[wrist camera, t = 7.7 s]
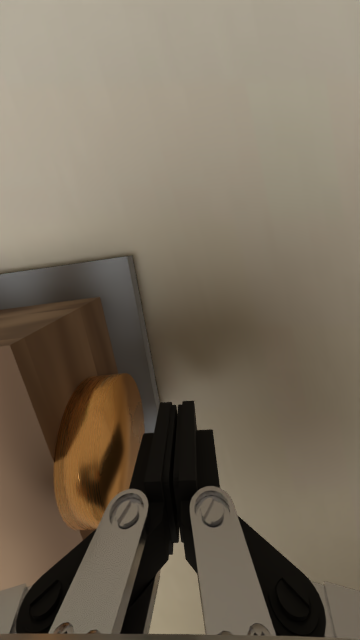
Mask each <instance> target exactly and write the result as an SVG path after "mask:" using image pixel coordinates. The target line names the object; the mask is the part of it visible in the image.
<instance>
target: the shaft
mask: <svg viewBox="0 0 360 640" xmlns="http://www.w3.org/2000/svg"><path fill="white" fill-rule="evenodd" d="M144 433H145V428H144V415H143V407H142V402H141V397H140V393H139V390H138V387H137V384H136V382H135V380H134V379H133V377H132V376H131V375H129V374H127V373H122V374H112V375H102V376H93V377H89V378H87V379H85V380H84V381H82V382H81V383H80V384H79V386H78V387H77V388H76V389H75V391H74V392H73V394H72V396H71V398H70V399H69V401H68V404H67V406H66V408H65V411H64V414H63V417H62V419H61V423H60V427H59V431H58V436H57V441H56V447H55V455H54V490H55V497H56V502H57V506H58V509H59V513H60V515H61V517H62V519H63V521H64V522H65V523H66V525H67V526H68V527H70V528H71V529H74V530H91V529H97V527H98V525H99V523H100V521H101V519H102V516H103V514H104V512H105V510H106V508H107V506H108V504H109V503H110V501H111V500H112V499H113V498H114V497H115V496H116V495H117V494H119V493H120V492H122V491H124V490H127V489H129V486H130V482H131V479H132V475H133V471H134V467H135V463H136V459H137V455H138V452H139V448H140V444H141V440H142V436H143V434H144Z"/></svg>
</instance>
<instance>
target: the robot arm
mask: <svg viewBox="0 0 360 640" xmlns="http://www.w3.org/2000/svg"><path fill="white" fill-rule="evenodd" d="M179 528H180V535H181V542H184V549H185V556H186V560H187V561H188V563H189V564H190V565H191V566H192V568H193V569H194V570H195V572H196V573H197V575H198V583H199V590H200V597H201V604H202V612H203V619H204V626H205V634H206V635H191V634H148V633H149V628H150V623H151V618H152V613H153V609H154V604H155V599H156V594H157V589H158V584H159V579H160V570H161V568H162V567H163V565H164V564H165V563H166V562H167V561H168V558H169V555H173V543H178V541H179ZM0 640H360V591H358V590H354V589H351V588H347V587H344V586H340V585H337V584H333V583H329V582H326V581H324V585H322V584H318V583H315V582H311V581H310V580H309V579H308V578H307V577H306V576H305V575H304V574H303V573H302V572H301V571H300V570H299V569H298V568H296V567H295V566H294V565H293V564H292V563H291V562H290V561H289V560H287V559H286V558H285V557H284V556H283V555H282V554H281V553H279V552H278V551H277V550H276V549H275V548H274V547H273V546H272V545H270V544H269V543H268V542H267V541H266V540H265V539H264V538H262V537H261V536H260V535H259V534H258V533H257V532H256V531H255V530H253V529H252V528H251V527H250V526H249V525H248V524H247V523H246V522H244V521H243V520H242V519H241V518H240V517H239V516H238V515H237V512H236V509H235V506H234V503H233V501H232V499H231V497H230V496H229V495H228V494H227V493H226V491H224V490H222V489H221V488H220V485H219V477H218V469H217V461H216V453H215V445H214V437H213V430H197V426H196V416H195V405H194V401H183V403H182V405H178V416H177V408H176V405H172V402H164V403H160V405H159V410H158V415H157V420H156V425H155V430H154V433H144V434H143V436H142V440H141V444H140V448H139V452H138V455H137V459H136V463H135V467H134V471H133V475H132V479H131V482H130V486H129V489H127V490H124V491H122V492H120V493H119V494H117V495H116V496H115V497H114V498H113V499H112V500H111V501H110V503H109V504H108V506H107V508H106V510H105V512H104V514H103V516H102V519H101V521H100V523H99V525H98V527H97V529H96V530H94V531H93V532H92V533H91V534H90V535H89V536H87V537H86V538H85V539H84V540H83V541H82V542H80V543H79V544H78V545H77V546H76V547H75V548H74V549H72V550H71V551H70V552H69V553H68V554H67V555H65V556H64V557H63V558H62V559H61V560H60V561H58V562H57V563H56V564H55V565H54V566H53V567H51V568H50V569H49V570H48V571H47V572H46V573H45V574H43V575H42V576H41V577H40V578H39V579H38V580H37V581H36V582H35V583H34V584H33V585H31V586H28V587H27V585H26V583H24V584H21V585H18V586H15V587H11V588H8V589H5V590H2V591H0Z"/></svg>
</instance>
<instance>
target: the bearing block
mask: <svg viewBox="0 0 360 640" xmlns="http://www.w3.org/2000/svg"><path fill="white" fill-rule="evenodd" d="M122 373H127V374H129V375H131V376H132V377H133V379H134V380H135V382H136V384H137V387H138V390H139V393H140V397H141V402H142V407H143V415H144V428H145V433H154V430H155V425H156V420H157V415H158V410H159V405H160V401H159V396H158V390H157V385H156V380H155V374H154V369H153V364H152V359H151V353H150V348H149V343H148V337H147V332H146V327H145V321H144V316H143V311H142V305H141V300H140V295H139V289H138V284H137V279H136V274H135V268H134V263H133V258H132V256H125V257H118V258H111V259H104V260H97V261H90V262H83V263H76V264H69V265H62V266H55V267H48V268H41V269H34V270H27V271H20V272H13V273H6V274H0V591H2V590H5V589H8V588H11V587H15V586H18V585H21V584H24V583H26V585H27V587H28V586H31V585H33V584H34V583H35V582H36V581H37V580H38V579H39V578H40V577H41V576H42V575H43V574H45V573H46V572H47V571H48V570H49V569H50V568H51V567H53V566H54V565H55V564H56V563H57V562H58V561H60V560H61V559H62V558H63V557H64V556H65V555H67V554H68V553H69V552H70V551H71V550H72V549H74V548H75V547H76V546H77V545H78V544H79V543H80V542H82V541H83V540H84V539H85V538H86V537H87V536H89V535H90V534H91V533H92V532H93V531H94V530H96V529H91V530H74V529H71V528H70V527H68V526H67V525H66V523H65V522H64V521H63V519H62V517H61V515H60V513H59V509H58V506H57V502H56V497H55V490H54V455H55V447H56V441H57V436H58V431H59V427H60V423H61V419H62V417H63V414H64V411H65V408H66V406H67V404H68V401H69V399H70V398H71V396H72V394H73V392H74V391H75V389H76V388H77V387H78V386H79V384H80V383H81V382H82V381H84V380H85V379H87V378H89V377H93V376H102V375H112V374H122Z"/></svg>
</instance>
